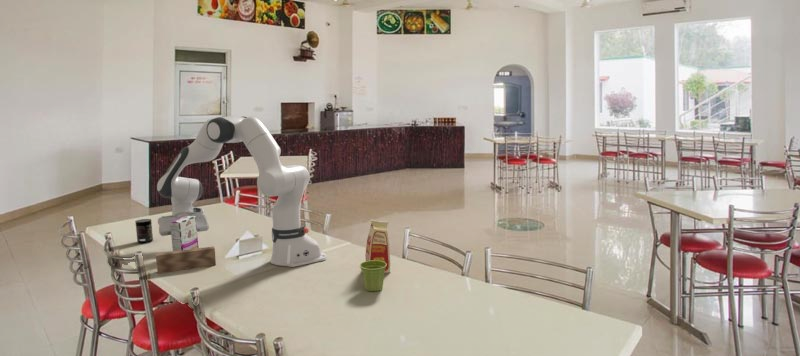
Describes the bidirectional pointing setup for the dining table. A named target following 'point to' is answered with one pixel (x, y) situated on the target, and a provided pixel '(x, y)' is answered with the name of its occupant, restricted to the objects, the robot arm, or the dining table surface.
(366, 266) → the plant pot
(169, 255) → the walnut board
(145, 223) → the supplement container
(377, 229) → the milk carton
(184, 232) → the candy bar box
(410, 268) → the dining table surface
